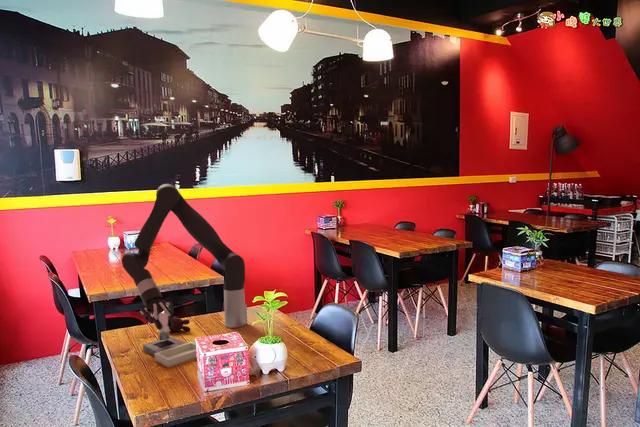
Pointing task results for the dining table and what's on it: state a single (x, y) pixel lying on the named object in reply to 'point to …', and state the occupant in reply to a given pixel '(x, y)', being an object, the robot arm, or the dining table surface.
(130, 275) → the robot arm
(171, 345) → the plate
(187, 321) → the brown lobed piece
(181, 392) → the dining table surface
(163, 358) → the tray
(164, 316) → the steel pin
